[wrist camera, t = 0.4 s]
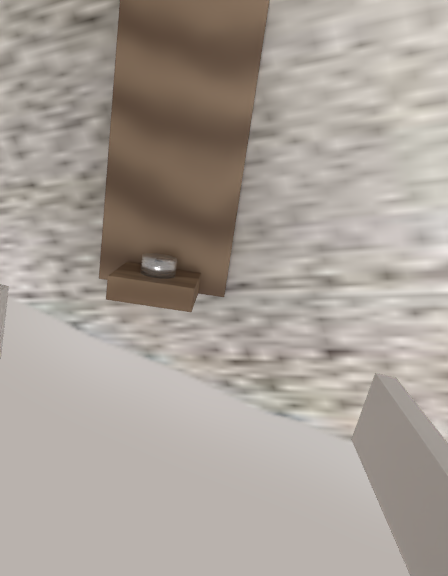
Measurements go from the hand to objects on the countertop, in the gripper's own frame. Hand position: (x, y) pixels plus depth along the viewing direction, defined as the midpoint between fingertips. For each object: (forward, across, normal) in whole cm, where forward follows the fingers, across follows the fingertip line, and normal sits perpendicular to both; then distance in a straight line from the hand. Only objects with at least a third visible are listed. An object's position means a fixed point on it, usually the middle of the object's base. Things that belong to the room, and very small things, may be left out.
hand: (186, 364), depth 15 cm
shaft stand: (+27, -6, +10) cm, 29 cm away
